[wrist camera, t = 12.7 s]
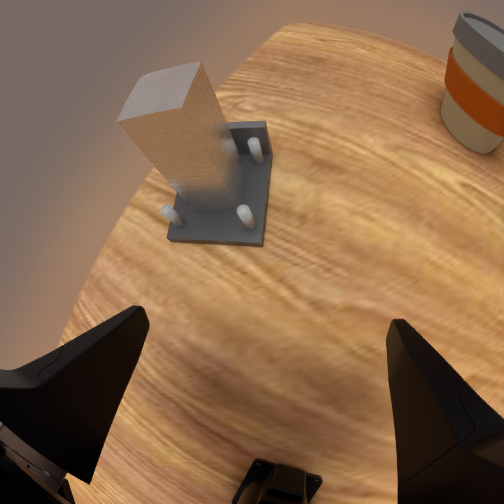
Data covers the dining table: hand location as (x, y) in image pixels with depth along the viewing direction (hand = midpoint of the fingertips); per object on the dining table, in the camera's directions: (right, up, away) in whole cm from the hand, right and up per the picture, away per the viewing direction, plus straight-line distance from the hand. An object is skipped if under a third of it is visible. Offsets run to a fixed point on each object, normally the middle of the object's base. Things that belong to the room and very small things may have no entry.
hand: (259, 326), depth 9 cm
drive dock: (-3, +8, +17) cm, 19 cm away
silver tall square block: (-3, +8, +16) cm, 19 cm away
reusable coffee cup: (+28, +19, +15) cm, 37 cm away
